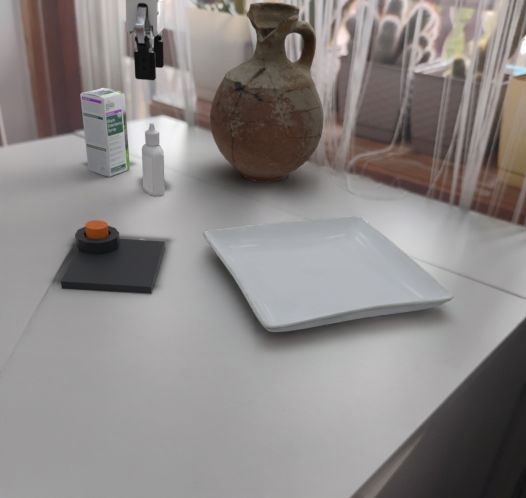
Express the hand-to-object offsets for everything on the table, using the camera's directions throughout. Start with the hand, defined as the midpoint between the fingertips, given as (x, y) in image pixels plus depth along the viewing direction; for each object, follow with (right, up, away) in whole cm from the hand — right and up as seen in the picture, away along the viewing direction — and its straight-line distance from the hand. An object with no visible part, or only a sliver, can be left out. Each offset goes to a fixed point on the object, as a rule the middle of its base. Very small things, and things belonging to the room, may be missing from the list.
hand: (150, 72), depth 103 cm
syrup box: (-11, -11, +19) cm, 24 cm away
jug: (+19, -10, +23) cm, 31 cm away
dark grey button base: (-2, -34, -13) cm, 36 cm away
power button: (-6, -29, -11) cm, 31 cm away
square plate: (+26, -36, -13) cm, 46 cm away
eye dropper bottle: (-1, -17, +12) cm, 20 cm away
